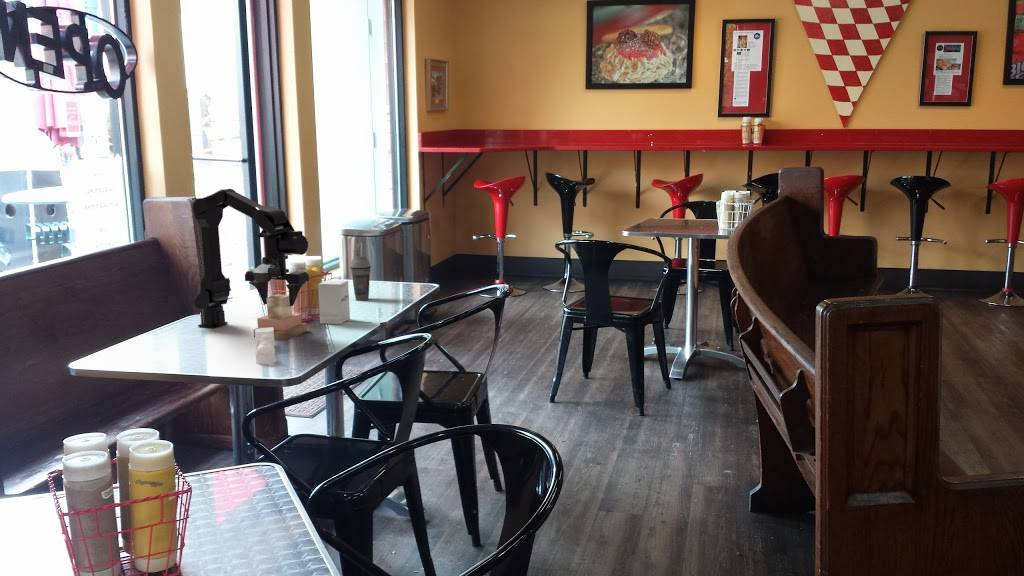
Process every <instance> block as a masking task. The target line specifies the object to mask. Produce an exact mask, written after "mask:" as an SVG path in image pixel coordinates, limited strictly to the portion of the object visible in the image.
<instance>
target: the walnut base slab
mask: <svg viewBox="0 0 1024 576" xmlns="http://www.w3.org/2000/svg"><path fill="white" fill-rule="evenodd" d="M301 323H302V324H300V325H297V326H295V327H292V328H290V329H287V330H285V331H282V330H274V340H285V341H286V340H289V339H291V338H293V337H297V336H298V335H301V334H303V333H306V332H308V323H305V322H301ZM255 329H256V328H254V329H253V337H254V338H255Z"/></svg>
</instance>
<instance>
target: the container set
mask: <svg viewBox="0 0 1024 576" xmlns="http://www.w3.org/2000/svg"><path fill="white" fill-rule="evenodd" d="M254 329H255V337H254V338H255V364H257V365H270V364H274V363H276V362H277V359H276V349H275V348H276V347H275V346H276V345H275V344H276V343H275V339H274V330H273V327H271V328H270V327H269V328H258V327H255V328H254Z"/></svg>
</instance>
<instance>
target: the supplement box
mask: <svg viewBox="0 0 1024 576" xmlns="http://www.w3.org/2000/svg"><path fill="white" fill-rule="evenodd" d="M317 288H318V306H319V307H318V308H319V309H318V310H319V324H328V325H330V324H331V325H343V323H345V322H347V321H349V320H350V319H351V313H350V312H351V311H350V291H349V290H350V289H349V280H345V279H343V280H341V279H339V280H338V279H335V280H334V279H330V280H329V279H327V280H324V281H323V282H320V283H318V284H317Z"/></svg>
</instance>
